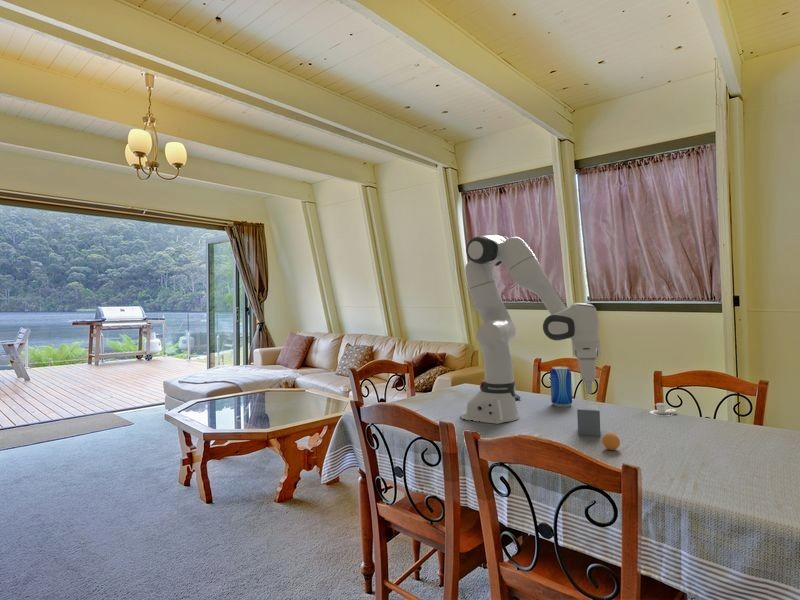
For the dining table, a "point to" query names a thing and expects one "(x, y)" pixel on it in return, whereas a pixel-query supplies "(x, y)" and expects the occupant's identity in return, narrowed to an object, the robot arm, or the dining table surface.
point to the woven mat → (517, 397)
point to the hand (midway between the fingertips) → (588, 390)
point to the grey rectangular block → (588, 420)
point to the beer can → (561, 386)
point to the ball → (611, 441)
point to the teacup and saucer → (663, 410)
